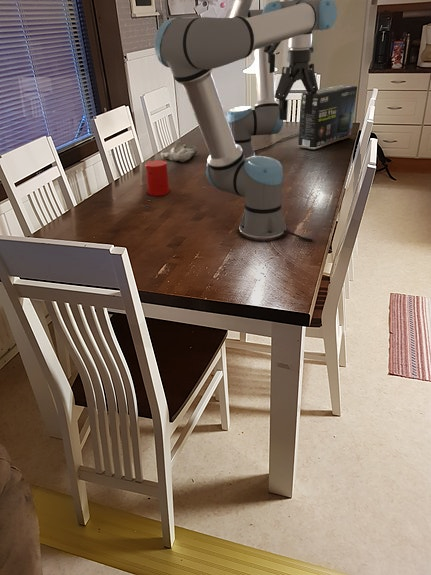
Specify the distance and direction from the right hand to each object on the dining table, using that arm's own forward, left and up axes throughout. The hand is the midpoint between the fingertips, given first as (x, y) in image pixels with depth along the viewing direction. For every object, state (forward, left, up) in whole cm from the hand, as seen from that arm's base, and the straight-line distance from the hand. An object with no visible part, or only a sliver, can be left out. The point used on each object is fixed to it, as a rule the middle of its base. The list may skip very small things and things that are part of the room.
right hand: (295, 116), depth 162 cm
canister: (+51, +17, -29) cm, 61 cm away
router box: (+15, -84, -29) cm, 90 cm away
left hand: (+13, -23, +11) cm, 29 cm away
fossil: (+72, -28, -29) cm, 83 cm away
